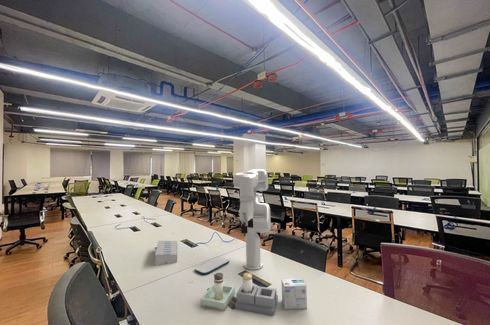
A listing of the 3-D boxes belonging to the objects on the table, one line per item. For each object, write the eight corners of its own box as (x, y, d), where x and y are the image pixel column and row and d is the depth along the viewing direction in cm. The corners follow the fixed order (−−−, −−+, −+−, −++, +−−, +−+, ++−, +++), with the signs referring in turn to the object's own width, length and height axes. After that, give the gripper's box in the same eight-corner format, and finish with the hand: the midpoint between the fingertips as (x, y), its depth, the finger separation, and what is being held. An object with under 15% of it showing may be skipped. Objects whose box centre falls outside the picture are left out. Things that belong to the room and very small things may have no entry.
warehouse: (177, 262, 150) (176, 251, 150) (154, 266, 145) (154, 254, 146) (177, 247, 178) (177, 238, 179) (158, 250, 174) (158, 240, 174)
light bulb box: (303, 299, 105) (302, 277, 105) (307, 309, 98) (307, 285, 98) (281, 300, 104) (280, 278, 105) (284, 310, 98) (283, 286, 98)
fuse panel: (242, 293, 111) (242, 281, 111) (277, 299, 105) (277, 287, 106) (235, 308, 99) (234, 295, 99) (273, 315, 94) (273, 301, 94)
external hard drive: (204, 277, 129) (204, 273, 129) (192, 271, 136) (192, 268, 136) (231, 263, 148) (230, 260, 148) (219, 258, 155) (219, 256, 155)
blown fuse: (216, 294, 109) (216, 272, 109) (224, 295, 108) (224, 273, 108) (212, 299, 105) (212, 276, 105) (221, 300, 103) (220, 277, 104)
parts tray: (213, 290, 115) (213, 283, 115) (235, 293, 111) (234, 286, 111) (200, 306, 101) (200, 298, 101) (224, 310, 98) (224, 303, 98)
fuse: (244, 294, 106) (244, 272, 107) (253, 296, 105) (253, 273, 105) (242, 299, 102) (241, 276, 103) (251, 301, 101) (250, 277, 101)
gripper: (245, 195, 125) (246, 225, 125) (234, 201, 109) (235, 234, 109) (258, 196, 122) (258, 226, 123) (248, 201, 106) (249, 236, 106)
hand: (247, 230), depth 116 cm, fingers open, 9 cm apart
